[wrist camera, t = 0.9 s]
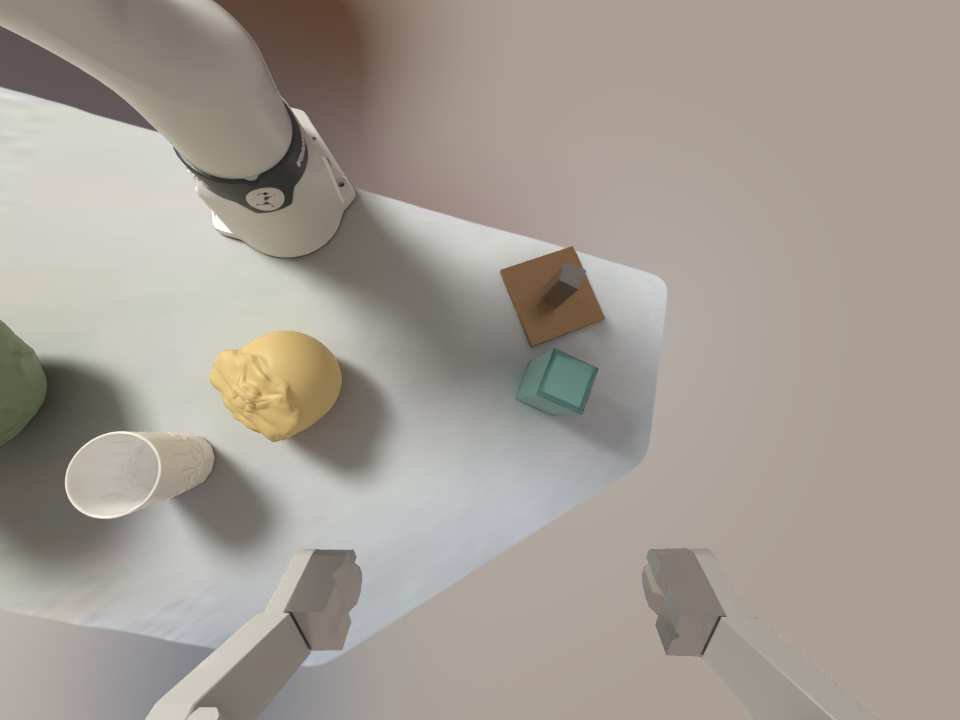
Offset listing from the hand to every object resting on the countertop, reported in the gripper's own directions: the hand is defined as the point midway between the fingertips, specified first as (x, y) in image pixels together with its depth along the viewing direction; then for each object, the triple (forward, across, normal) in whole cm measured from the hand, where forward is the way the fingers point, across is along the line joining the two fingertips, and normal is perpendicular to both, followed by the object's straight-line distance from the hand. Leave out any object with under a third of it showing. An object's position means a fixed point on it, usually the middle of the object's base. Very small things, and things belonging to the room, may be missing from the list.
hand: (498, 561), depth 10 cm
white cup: (+25, +38, +20) cm, 50 cm away
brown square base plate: (+46, -8, +7) cm, 47 cm away
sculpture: (+32, +26, +14) cm, 44 cm away
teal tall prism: (+37, -6, +18) cm, 42 cm away
